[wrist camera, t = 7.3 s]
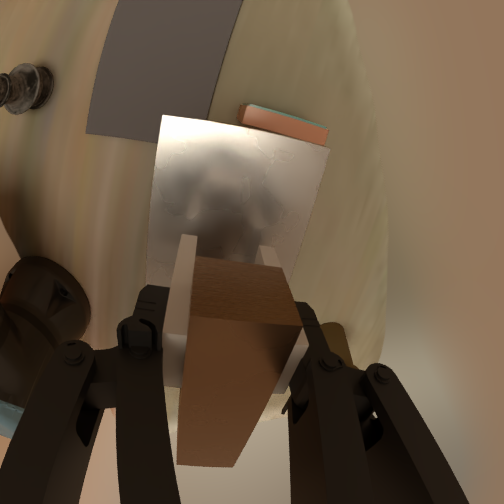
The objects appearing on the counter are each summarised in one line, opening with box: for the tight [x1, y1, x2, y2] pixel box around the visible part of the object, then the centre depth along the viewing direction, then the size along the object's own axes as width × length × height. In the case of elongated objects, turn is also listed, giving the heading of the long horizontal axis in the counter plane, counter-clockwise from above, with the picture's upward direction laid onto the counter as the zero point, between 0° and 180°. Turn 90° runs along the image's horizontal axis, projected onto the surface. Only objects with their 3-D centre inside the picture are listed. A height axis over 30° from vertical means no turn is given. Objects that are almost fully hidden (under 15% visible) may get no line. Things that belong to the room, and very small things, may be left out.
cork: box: [320, 322, 358, 369], centre depth 41 cm, size 6×6×11 cm
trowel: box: [145, 114, 330, 467], centre depth 13 cm, size 15×8×9 cm, turn 167°
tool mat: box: [86, 0, 243, 143], centre depth 23 cm, size 13×22×1 cm, turn 165°
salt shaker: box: [0, 63, 54, 115], centre depth 18 cm, size 6×6×12 cm
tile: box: [237, 103, 329, 146], centre depth 26 cm, size 7×2×8 cm, turn 75°
